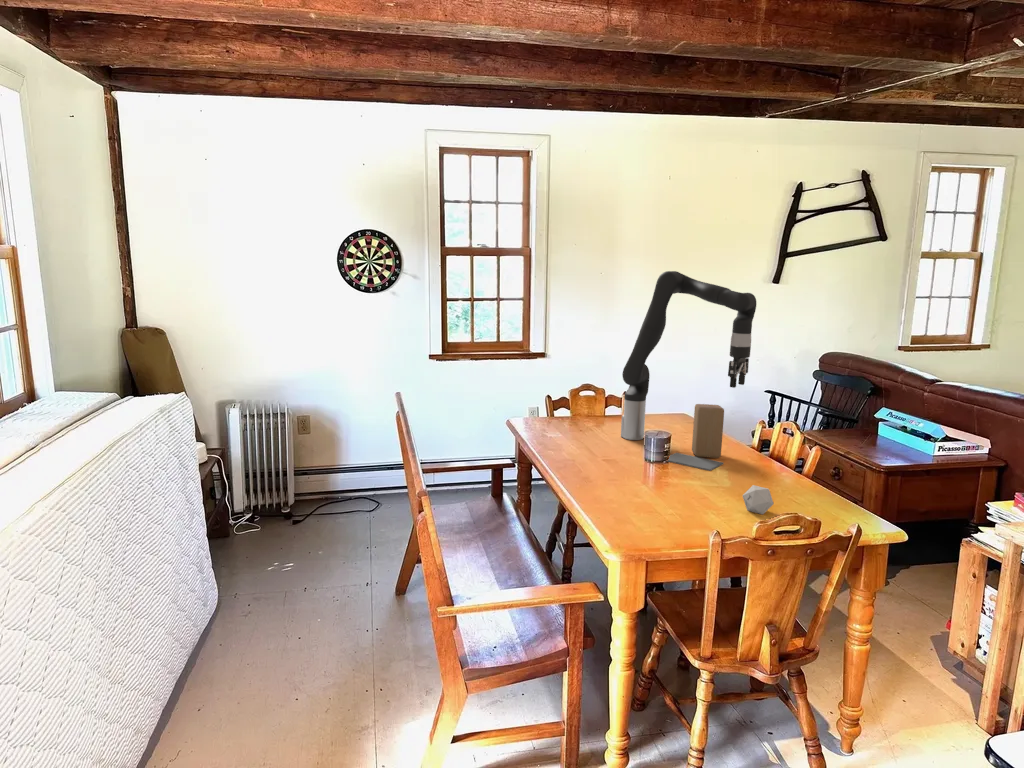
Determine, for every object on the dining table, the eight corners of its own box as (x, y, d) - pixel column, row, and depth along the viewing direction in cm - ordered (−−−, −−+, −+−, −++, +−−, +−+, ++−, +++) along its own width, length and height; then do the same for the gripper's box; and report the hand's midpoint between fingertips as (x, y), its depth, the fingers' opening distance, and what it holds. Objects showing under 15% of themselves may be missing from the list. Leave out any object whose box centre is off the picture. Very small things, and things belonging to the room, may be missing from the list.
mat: (661, 460, 266) (661, 458, 266) (676, 453, 275) (676, 452, 275) (709, 471, 253) (710, 469, 253) (723, 464, 262) (723, 462, 262)
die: (741, 506, 219) (735, 488, 213) (765, 494, 218) (759, 475, 213) (756, 524, 212) (750, 505, 206) (780, 511, 212) (775, 492, 206)
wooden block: (716, 452, 277) (719, 404, 275) (721, 458, 268) (725, 408, 265) (691, 451, 278) (694, 403, 276) (695, 457, 268) (698, 407, 266)
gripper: (738, 342, 270) (734, 382, 273) (723, 345, 259) (720, 387, 262) (757, 344, 265) (753, 385, 268) (743, 347, 255) (739, 389, 258)
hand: (737, 385), depth 265 cm, fingers open, 8 cm apart
